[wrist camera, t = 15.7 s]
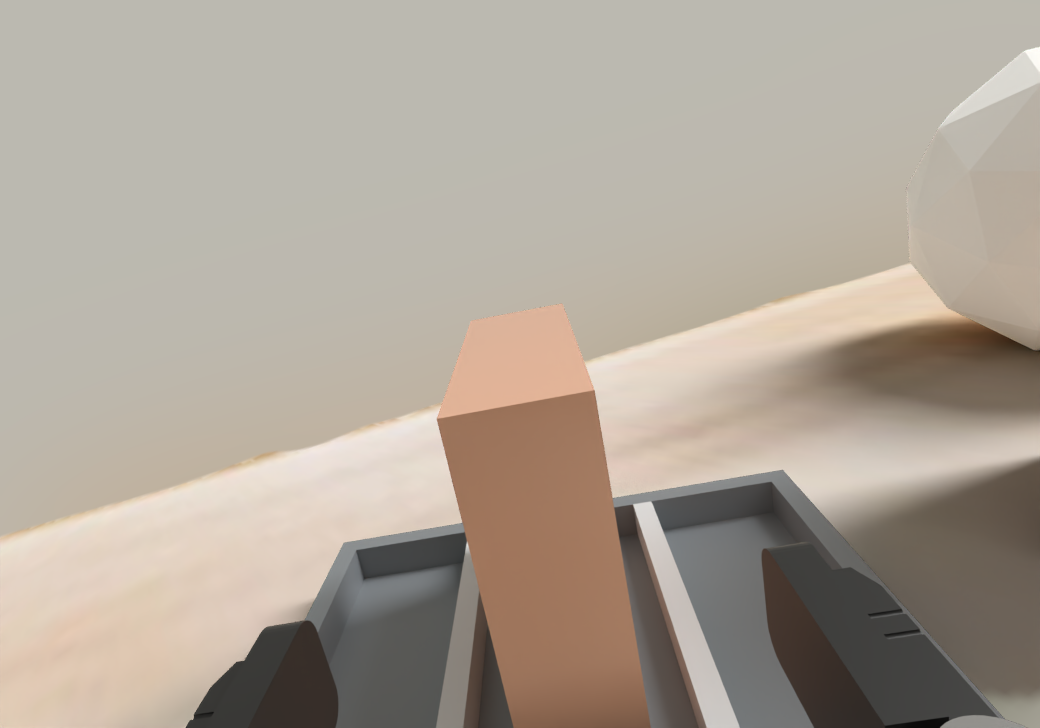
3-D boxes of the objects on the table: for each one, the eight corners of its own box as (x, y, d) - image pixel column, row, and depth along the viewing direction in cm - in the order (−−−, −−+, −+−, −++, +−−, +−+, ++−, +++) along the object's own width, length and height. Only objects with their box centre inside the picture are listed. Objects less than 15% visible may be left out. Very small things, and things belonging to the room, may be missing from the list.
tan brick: (658, 773, 16) (594, 390, 13) (529, 792, 16) (437, 418, 13) (606, 554, 26) (562, 303, 23) (525, 567, 26) (470, 320, 23)
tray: (1036, 843, 14) (1041, 760, 13) (209, 945, 15) (175, 874, 15) (786, 519, 27) (782, 469, 27) (358, 588, 29) (343, 542, 28)
